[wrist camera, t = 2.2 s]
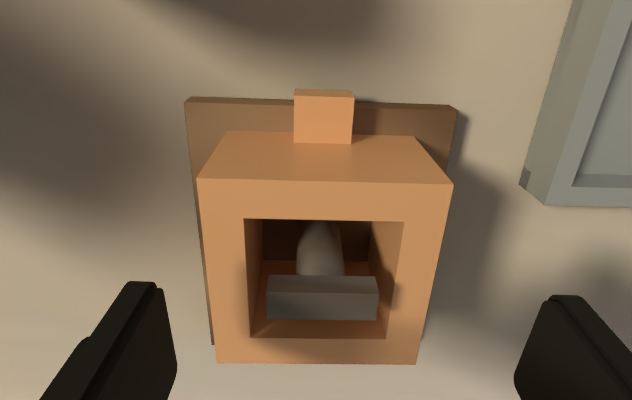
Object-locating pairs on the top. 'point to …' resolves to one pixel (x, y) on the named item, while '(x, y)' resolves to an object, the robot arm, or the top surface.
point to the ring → (321, 204)
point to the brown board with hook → (313, 235)
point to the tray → (586, 113)
